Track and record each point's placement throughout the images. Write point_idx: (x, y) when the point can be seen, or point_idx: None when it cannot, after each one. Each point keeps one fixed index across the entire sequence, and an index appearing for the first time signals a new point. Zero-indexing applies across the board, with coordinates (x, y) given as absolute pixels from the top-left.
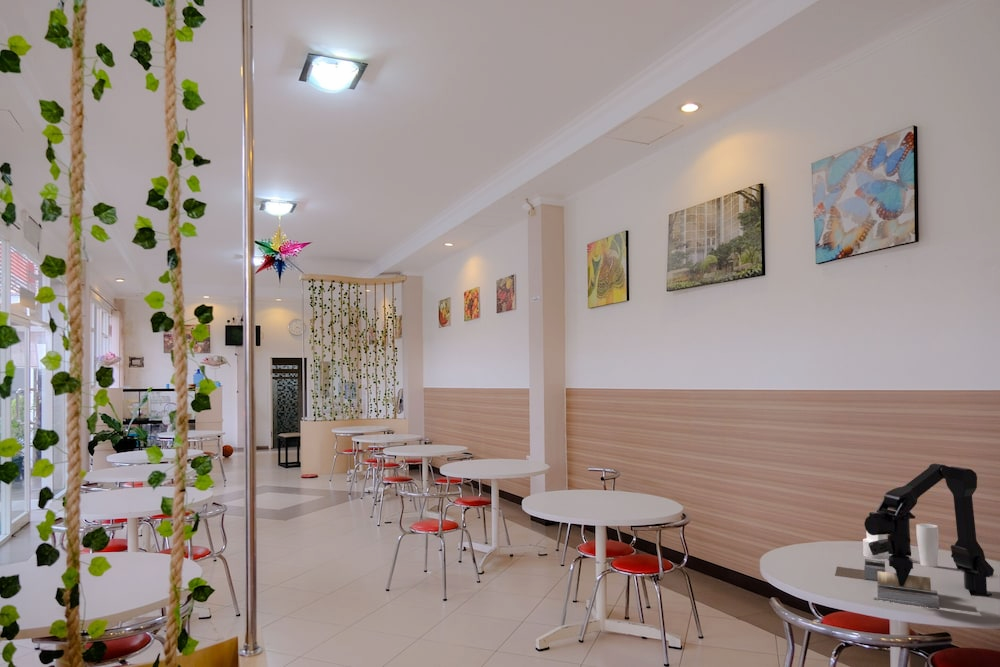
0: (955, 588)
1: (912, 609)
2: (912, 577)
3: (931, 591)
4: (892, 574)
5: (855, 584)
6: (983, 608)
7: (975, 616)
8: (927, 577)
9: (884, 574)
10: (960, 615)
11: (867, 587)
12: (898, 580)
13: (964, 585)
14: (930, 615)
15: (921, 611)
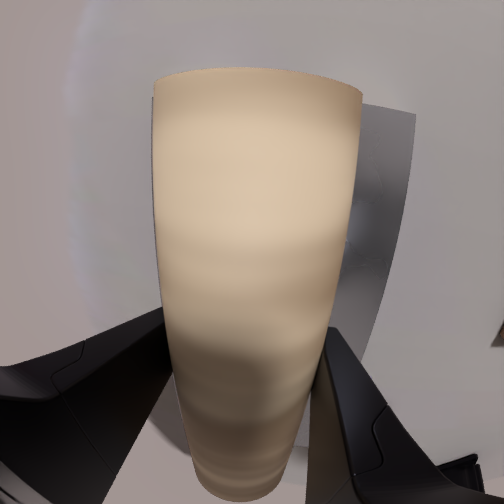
0: (483, 445)
1: (120, 279)
2: (195, 443)
3: (299, 432)
4: (180, 311)
5: (501, 18)
6: (283, 474)
7: (183, 439)
8: (229, 496)
9: (163, 190)
10: (164, 413)
11: (480, 73)
12: (131, 320)
13: (473, 468)
14: (95, 327)
15: (118, 310)
